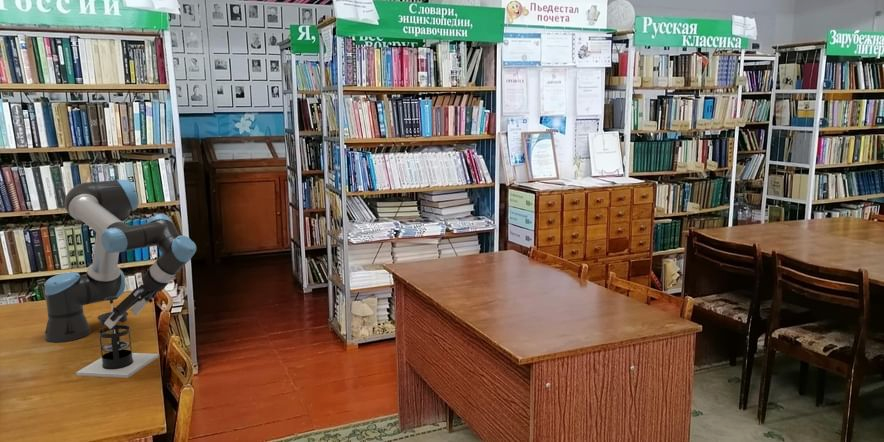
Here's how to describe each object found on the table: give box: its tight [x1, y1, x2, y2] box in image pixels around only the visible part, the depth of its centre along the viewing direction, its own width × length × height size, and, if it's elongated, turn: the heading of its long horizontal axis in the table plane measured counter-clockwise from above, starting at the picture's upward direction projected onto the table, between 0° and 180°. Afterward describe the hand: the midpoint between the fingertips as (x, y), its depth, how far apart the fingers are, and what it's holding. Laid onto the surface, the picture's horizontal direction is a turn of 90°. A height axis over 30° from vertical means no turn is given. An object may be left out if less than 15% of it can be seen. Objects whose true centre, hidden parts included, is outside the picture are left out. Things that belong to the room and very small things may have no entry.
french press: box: [97, 296, 133, 369], centre depth 217 cm, size 12×9×23 cm
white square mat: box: [75, 352, 160, 379], centre depth 219 cm, size 18×18×1 cm
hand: (120, 318), depth 216 cm, fingers open, 13 cm apart
